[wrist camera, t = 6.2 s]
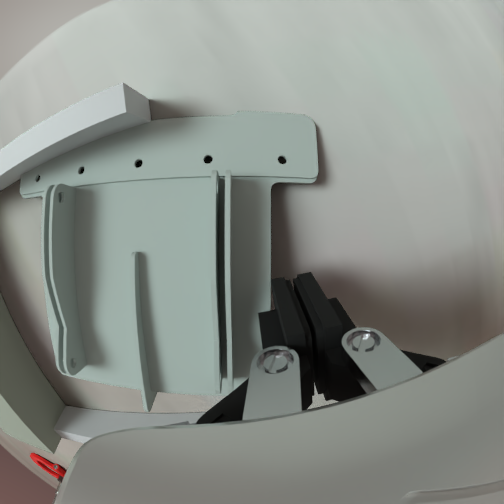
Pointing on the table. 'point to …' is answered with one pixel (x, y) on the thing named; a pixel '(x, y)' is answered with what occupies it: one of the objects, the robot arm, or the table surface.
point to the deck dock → (3, 328)
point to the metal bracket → (166, 248)
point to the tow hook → (55, 467)
